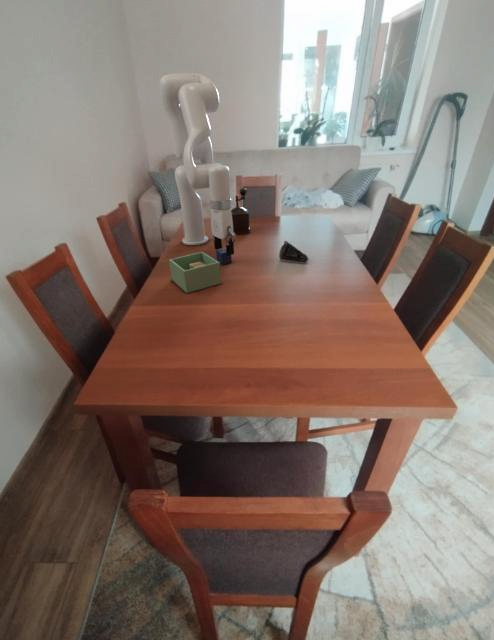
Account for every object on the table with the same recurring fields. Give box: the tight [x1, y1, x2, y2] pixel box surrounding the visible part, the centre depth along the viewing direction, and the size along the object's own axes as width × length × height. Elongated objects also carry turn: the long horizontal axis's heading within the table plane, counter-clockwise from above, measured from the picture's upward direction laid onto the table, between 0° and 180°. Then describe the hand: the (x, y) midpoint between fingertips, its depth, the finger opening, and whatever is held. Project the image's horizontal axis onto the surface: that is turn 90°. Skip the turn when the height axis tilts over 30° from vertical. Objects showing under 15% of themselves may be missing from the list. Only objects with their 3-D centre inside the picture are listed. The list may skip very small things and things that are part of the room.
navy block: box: [215, 247, 233, 266], centre depth 133 cm, size 5×5×5 cm
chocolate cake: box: [278, 240, 309, 265], centre depth 133 cm, size 10×7×12 cm
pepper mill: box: [231, 187, 251, 235], centre depth 164 cm, size 16×11×18 cm
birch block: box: [189, 261, 205, 269], centre depth 121 cm, size 5×5×5 cm
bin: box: [168, 251, 222, 294], centre depth 118 cm, size 14×14×8 cm
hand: (224, 251), depth 132 cm, fingers open, 9 cm apart
